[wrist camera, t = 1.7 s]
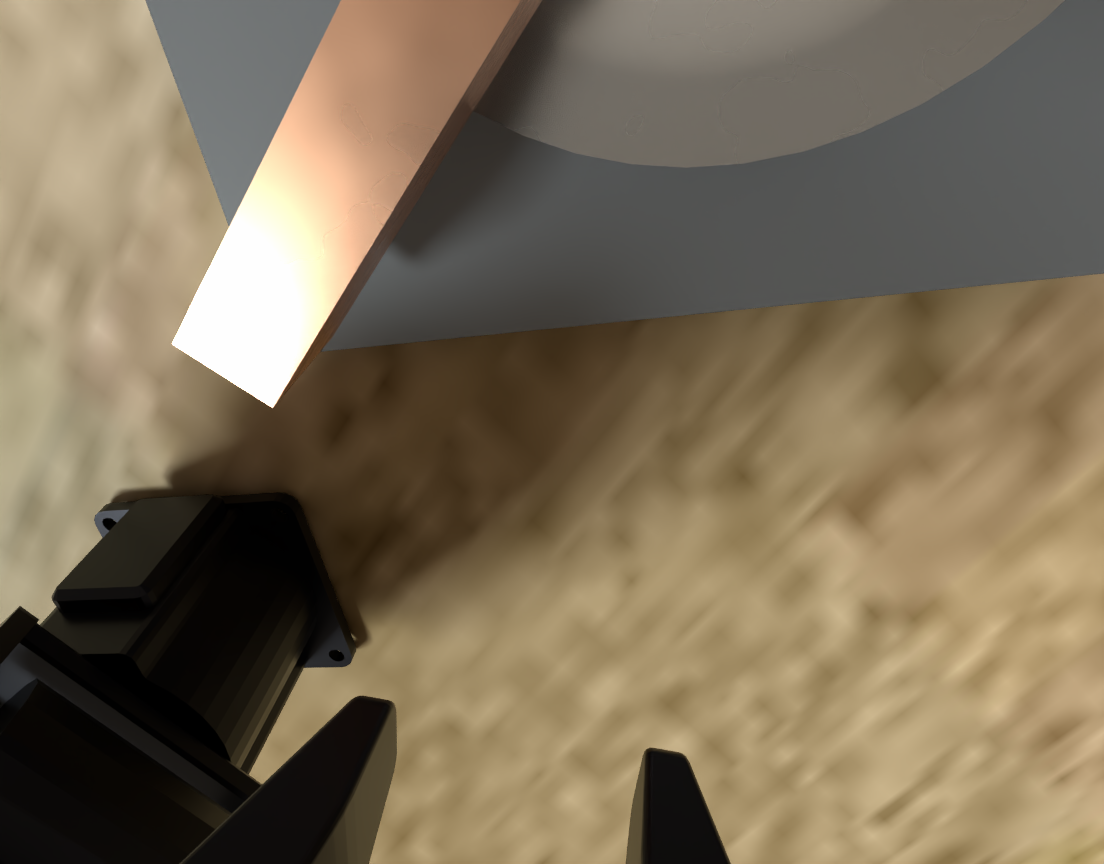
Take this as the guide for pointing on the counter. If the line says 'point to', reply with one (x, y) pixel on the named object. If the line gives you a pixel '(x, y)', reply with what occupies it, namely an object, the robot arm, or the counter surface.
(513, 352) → the counter surface
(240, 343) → the grey disc with handle
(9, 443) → the counter surface
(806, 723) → the counter surface
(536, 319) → the post plate
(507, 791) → the counter surface
